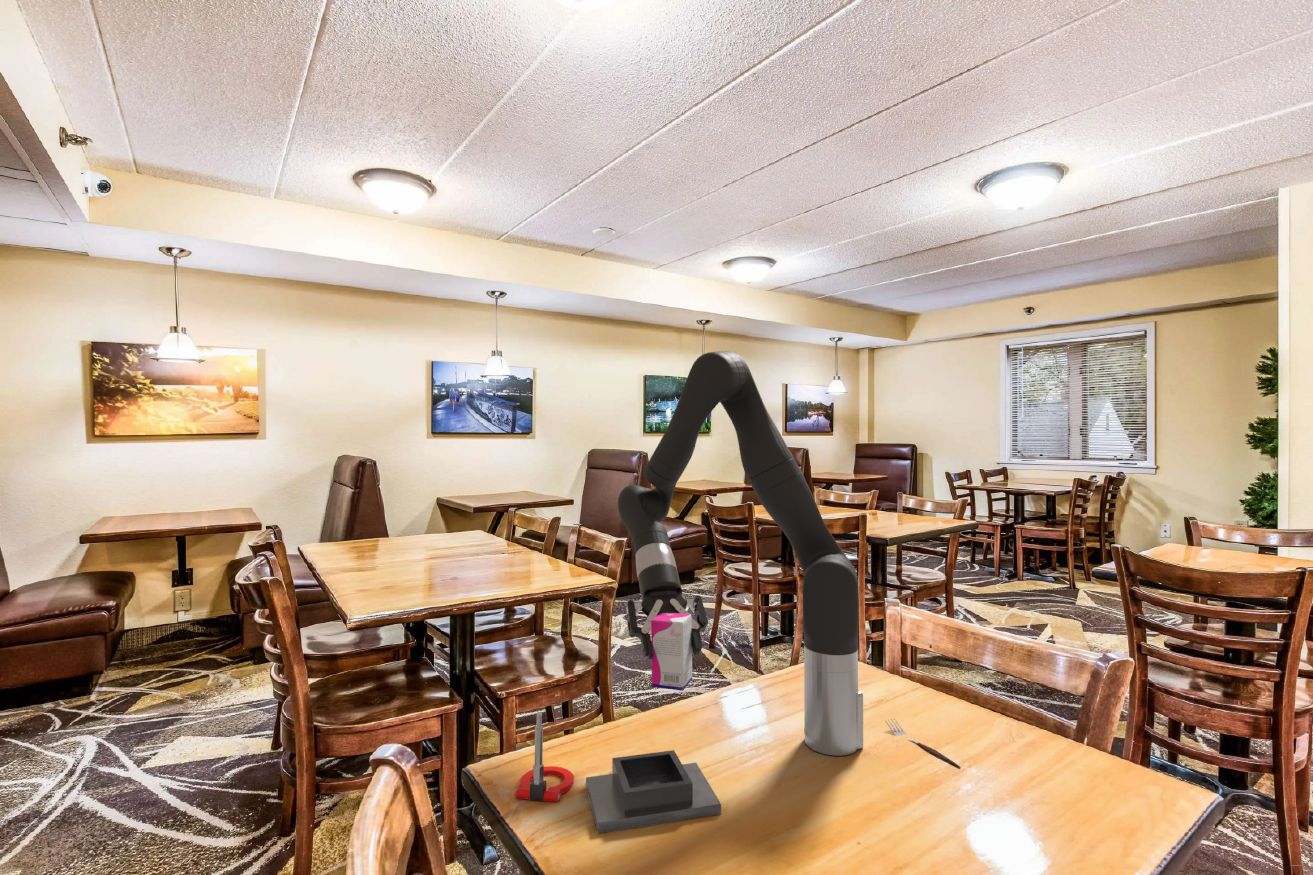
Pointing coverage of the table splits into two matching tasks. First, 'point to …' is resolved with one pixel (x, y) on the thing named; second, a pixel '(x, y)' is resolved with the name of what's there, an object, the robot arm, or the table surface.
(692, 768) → the socket plate
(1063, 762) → the table surface
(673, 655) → the supplement box
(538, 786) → the tow hook
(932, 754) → the fork
